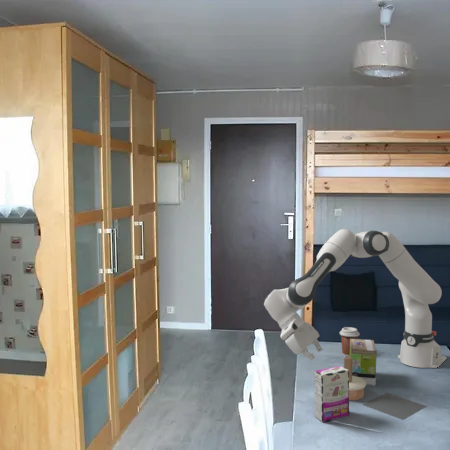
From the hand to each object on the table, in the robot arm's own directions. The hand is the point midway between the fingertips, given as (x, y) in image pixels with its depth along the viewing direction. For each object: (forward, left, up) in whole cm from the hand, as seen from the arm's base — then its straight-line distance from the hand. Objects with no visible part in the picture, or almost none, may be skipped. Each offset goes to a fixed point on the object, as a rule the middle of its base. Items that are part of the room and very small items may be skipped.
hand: (317, 355), depth 199 cm
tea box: (-22, +6, -14) cm, 26 cm away
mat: (-8, +29, -13) cm, 33 cm away
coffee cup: (-44, -16, -14) cm, 48 cm away
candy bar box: (+15, +19, -14) cm, 28 cm away
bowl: (-4, +12, -13) cm, 18 cm away
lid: (-4, +12, -9) cm, 15 cm away
